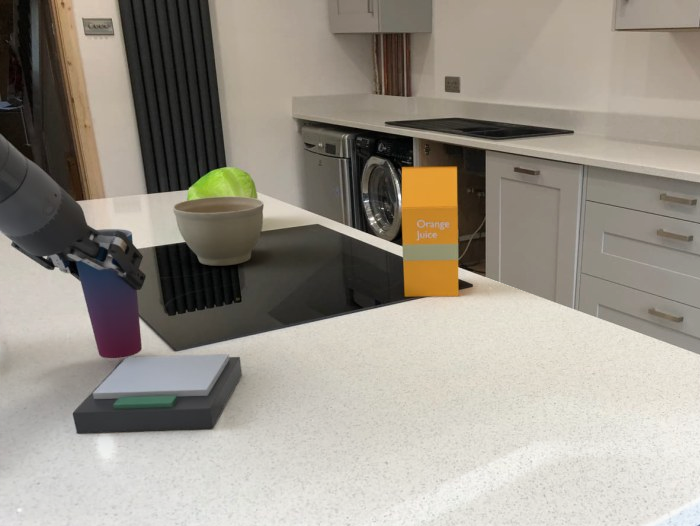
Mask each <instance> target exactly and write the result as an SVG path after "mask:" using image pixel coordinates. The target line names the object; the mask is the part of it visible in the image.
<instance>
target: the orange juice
mask: <svg viewBox="0 0 700 526" xmlns="http://www.w3.org/2000/svg"><path fill="white" fill-rule="evenodd" d="M458 206H459V205H458V166H456V165H455V166H401V208H400V209H401V233H402V234H401V235H402V237H401V238H402V261H403V286H404V297H405V298H406V297H407V298H409V297H411V298H412V297H413V298H414V297H419V298H421V297H459V214H458V212H459V207H458Z"/></svg>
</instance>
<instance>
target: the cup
mask: <svg viewBox="0 0 700 526" xmlns="http://www.w3.org/2000/svg"><path fill="white" fill-rule="evenodd" d="M96 230H97V231H99V232H100V233H101V235H102V236H110V237H113V234H114V232H115V231H120V232H123V233H124V234H125V235H126V236H127V237H128V238H129V240H130V241H131V242H132V243H133V244H134V242H133V232H132V231H130V230H128V229H120V228H106V229H105V228H101V229H96ZM104 250H105V248H104V247H101V251H100V253H99V256H98V258H97V259H96V260H98V261H100V260H101V257H102V255H103V252H104ZM112 264H113V265H115V266H117V267H118V265H119V264H118V262H117V261H116V260H115V259H114V258H113V259H112ZM76 265H77V269H78V273H79V277H80V281H81V282H80V281H79V282H80V286H81V288H82V293H83V298H84V300H85V303H86V308H87V312H88V316H89V320H90V324H91V328H92V333H93V336H94V340H95V344H96V348H97V352H98V355H99V356H100V357H101V358H105V359H123V358H127V357H133V356H134V355H136V354H138V353H141V351H142V350H143V349H142V348H143V347H142V336H141V335H142V334H141V323H140V315H139V314H140V313H139V300H138V290H134V289H133V288H132V287H130V286H129V285H128V284H127V283H125V282H124V281H123V280H122V279H121V278H120V277H119V276H118V275H116V274H114V273H112V272H110V271H108V270H103V271H100V270H98V269H96V268H94V267H92V266H90V265H88V264H86V263H84V262H82V261H76Z"/></svg>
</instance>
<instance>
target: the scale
mask: <svg viewBox="0 0 700 526" xmlns="http://www.w3.org/2000/svg"><path fill="white" fill-rule="evenodd" d="M242 376H243V371H242V364H241V356H230V354H229V353H222V354H221V353H220V354H191V355H190V354H189V355H188V354H187V355H186V354H185V355H156V356H155V355H154V356H153V355H152V356H128V357H125V359H122V361H120V362H119V363H118V365H117V366H115V368H113V370H112V371H110V373H109V374H108V375H107V376H106V377H105V378H104V379H103V380H102V381H101V382H100V383H99V384H98V386H97V387H96V388H95V389H93V391H92V392H91V393H90V394H88V396H87V397H86V398H85V399H84V400H83V401H82V402H81V403H80V404H79V405H78V406H77V407H76V409H74V410H73V412H72V417H73V421H74V422H73V423H74V427H75V431H76V434H92V433H94V434H95V433H123V432H151V431H152V432H154V431H179V430H184V431H185V430H186V431H187V430H211V429H214V427H215V425H216V423H217V422H218V420H219V418H220V416H221V414H222V412H223V410H224V409H225V407H226V405H227V403H228V401H229V400H230V398H231V396H232V394H233V392H234V391H235V389H236V386H237V385H238V383H239V381H240V379H241V378H242Z"/></svg>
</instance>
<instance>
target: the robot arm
mask: <svg viewBox="0 0 700 526" xmlns="http://www.w3.org/2000/svg"><path fill="white" fill-rule="evenodd" d="M97 230H98V229H95V228H94V227H92V226H90V225H89V224H88V222H87V219H86V216H85V212H84V209H83V207H82V206H81V205H80V204H79V203H78V202H77V201H76V200H75V199H74V198H73V197H72V196H71V194H69V193H68V192H67V191H66V190H65V189H64V188H63V187H61V186H60V185H59V183H57V181H55V180H54V179H53V178H52V177H51V176H50V175H49V174H48V173H47V172H46V171H45V170H44V169H42V168H41V167H40V166H39V165H38V164H37V163H35V162H34V161H32V160H30V159H29V158H28V157H26V156H25V155H24V154H23V153H22V152H20V150H18V149H17V147H15V146H14V145H13V144H12V143H11V142H10V141H9V140H8V139H6V137H5V136H3V134H1V133H0V233H1V234H2V235H4V236H5V237H7V238H8V239H9V240H11V244H10V246H11V247H12V248H14V249H15V250H17V251H18V252H20V253H21V254H23V255H25V256H26V257H28V258H29V259H31V260H32V261H34V262H35V263H37V264H38V265H40V266H41V267H43V268H44V269H47V270H49V271H55V268H58V270H59V271H60V272H62V273H63V274H70V275H71V276H72V277H74V278H75V279H77V280H78V281H79V282H80V283H81V281H80V277H79V273H78V269H77V265H76V261H82V262H84V263H86V264H88V265H90V266H92V267H94V268H96V269H98V270H100V271H103V270H108V271H110V272H112V273H114V274H116V275H118V276H119V277H120V278H121V279H122V280H123V281H124V282H125V283H127V284H128V285H129V286H130V287H132V288H133V289H134V290H137V291H140V290H142V287H144V283H145V280H146V277H147V276H146V274H145V273H144V272H143V271H142V270H141V269H140V266H141V263H142V260H143V258H144V255H143V254H142V253H141V252H140V250H139V249H138V247H136V246H135V245H134V242H133V243H132V242H131V241H130V240H129V238H128V237H127V236H126V235H125V234H124V233H123V232H120V231H115V232H114V234H113V237H110V236H102V235H101V233H100V232H99V231H97ZM101 247H104V248H105V250H104V252H103V255H102V257H101V260H100V261H98V260H96V259H97V258H98V256H99V253H100V251H101ZM45 257H46V258H45ZM113 258H114V259H115V260H116V261H117V262H118V264H119V265H118V267H117V266H115V265H113V264H112V259H113Z"/></svg>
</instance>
